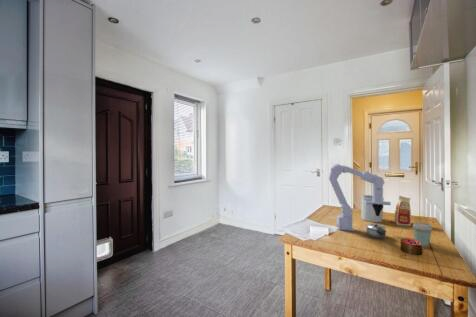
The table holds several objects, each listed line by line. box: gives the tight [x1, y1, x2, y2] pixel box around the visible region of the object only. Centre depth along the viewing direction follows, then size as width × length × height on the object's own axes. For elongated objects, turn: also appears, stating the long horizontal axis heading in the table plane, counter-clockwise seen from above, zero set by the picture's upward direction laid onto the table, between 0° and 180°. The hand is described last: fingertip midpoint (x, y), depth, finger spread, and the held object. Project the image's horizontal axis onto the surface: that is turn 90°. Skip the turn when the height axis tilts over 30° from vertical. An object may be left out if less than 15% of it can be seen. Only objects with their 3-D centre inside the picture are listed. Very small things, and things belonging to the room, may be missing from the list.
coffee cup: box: [412, 221, 433, 249], centre depth 128 cm, size 8×8×12 cm
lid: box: [365, 223, 387, 234], centre depth 140 cm, size 16×11×2 cm
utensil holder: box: [360, 194, 385, 223], centre depth 175 cm, size 15×15×18 cm
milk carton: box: [394, 195, 412, 227], centre depth 166 cm, size 9×9×20 cm
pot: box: [366, 227, 387, 240], centre depth 142 cm, size 17×10×5 cm, turn 170°
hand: (377, 215), depth 150 cm, fingers closed
